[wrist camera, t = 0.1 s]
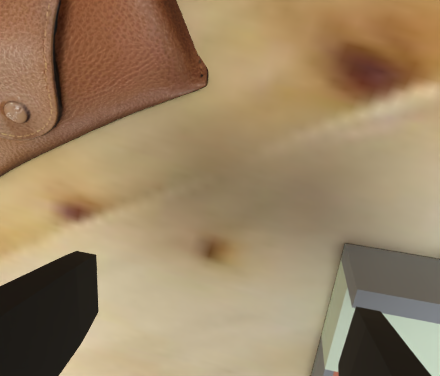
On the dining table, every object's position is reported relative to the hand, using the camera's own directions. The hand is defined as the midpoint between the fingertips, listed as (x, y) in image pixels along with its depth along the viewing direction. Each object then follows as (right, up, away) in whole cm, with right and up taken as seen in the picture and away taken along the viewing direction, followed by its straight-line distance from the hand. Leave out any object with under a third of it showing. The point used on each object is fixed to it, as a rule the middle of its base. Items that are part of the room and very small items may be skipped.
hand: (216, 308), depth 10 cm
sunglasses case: (-9, +10, +10) cm, 17 cm away
